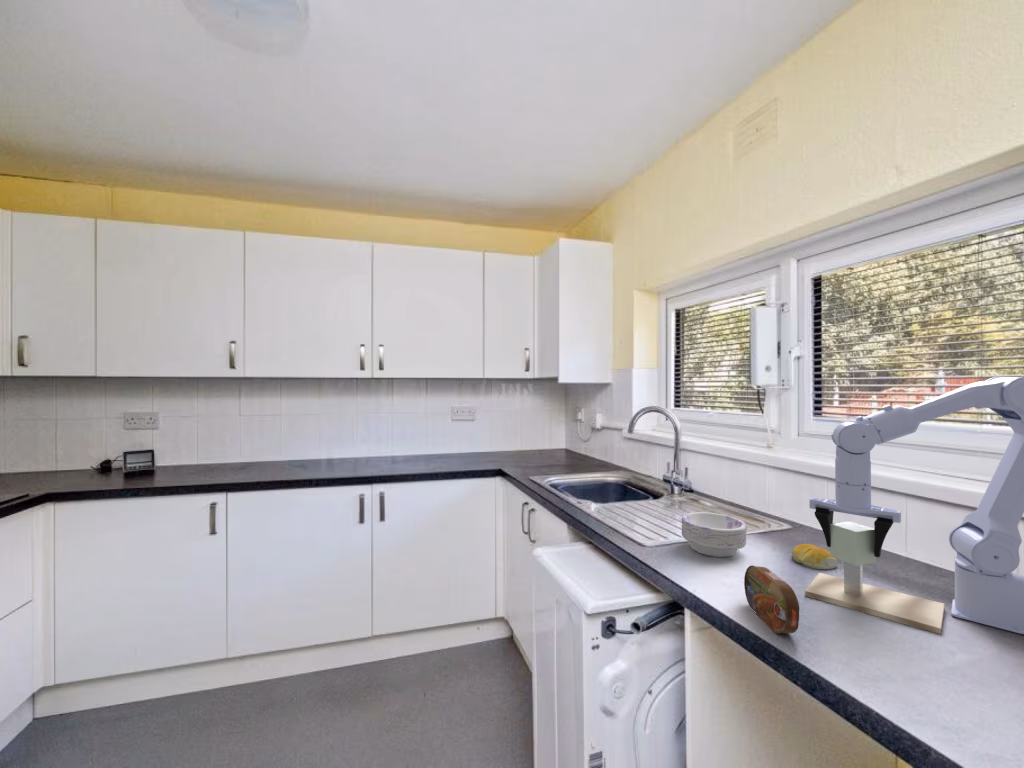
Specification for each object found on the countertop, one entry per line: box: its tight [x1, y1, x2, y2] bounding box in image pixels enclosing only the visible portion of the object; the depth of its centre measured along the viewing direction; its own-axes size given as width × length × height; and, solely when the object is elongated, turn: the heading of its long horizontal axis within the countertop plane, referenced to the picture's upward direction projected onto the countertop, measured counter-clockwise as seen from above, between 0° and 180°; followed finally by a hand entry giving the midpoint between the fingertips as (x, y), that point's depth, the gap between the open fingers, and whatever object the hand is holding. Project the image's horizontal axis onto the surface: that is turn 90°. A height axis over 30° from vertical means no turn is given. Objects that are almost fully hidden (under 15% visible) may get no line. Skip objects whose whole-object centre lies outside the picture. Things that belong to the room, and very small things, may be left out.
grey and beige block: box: [843, 561, 864, 596], centre depth 91 cm, size 3×3×6 cm
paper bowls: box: [681, 511, 748, 558], centre depth 117 cm, size 15×15×8 cm
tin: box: [743, 565, 800, 635], centre depth 83 cm, size 15×3×8 cm, turn 177°
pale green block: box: [830, 520, 877, 566], centre depth 91 cm, size 5×5×7 cm
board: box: [804, 572, 945, 635], centre depth 89 cm, size 20×12×1 cm, turn 44°
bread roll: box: [791, 543, 838, 570], centre depth 109 cm, size 8×9×4 cm
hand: (853, 550), depth 91 cm, fingers closed on pale green block, 7 cm apart
